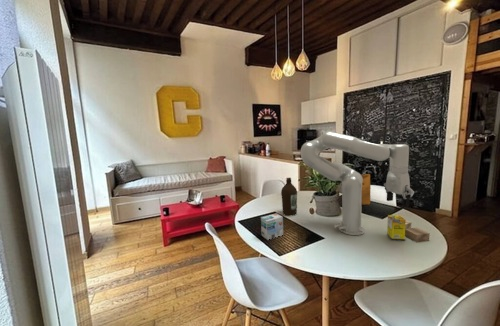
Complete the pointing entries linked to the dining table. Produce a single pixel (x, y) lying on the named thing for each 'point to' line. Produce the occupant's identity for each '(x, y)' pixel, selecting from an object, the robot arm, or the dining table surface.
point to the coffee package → (365, 190)
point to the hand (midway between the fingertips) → (397, 203)
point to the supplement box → (396, 227)
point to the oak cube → (408, 225)
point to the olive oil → (289, 198)
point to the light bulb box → (272, 226)
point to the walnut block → (417, 234)
